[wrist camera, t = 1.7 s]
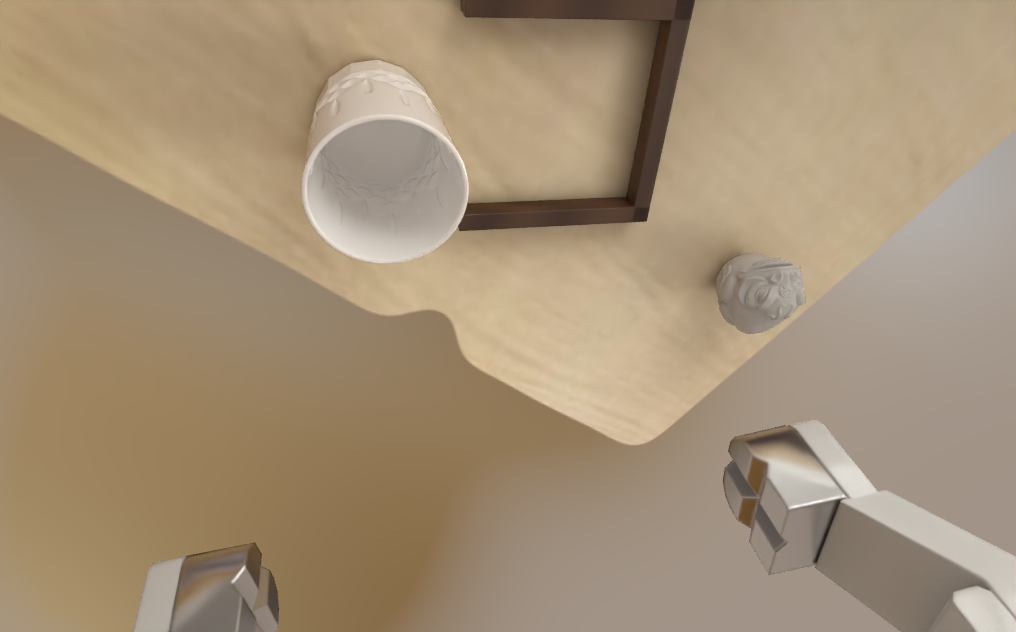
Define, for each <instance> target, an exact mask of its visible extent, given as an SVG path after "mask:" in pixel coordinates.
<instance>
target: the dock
mask: <svg viewBox="0 0 1016 632" xmlns="http://www.w3.org/2000/svg"><path fill="white" fill-rule="evenodd" d="M694 3H695V0H461V11H462V13H463V14H464V16H465V17H491V18H551V19H611V20H661V23H660V28H659V33H658V38H657V43H656V48H655V54H654V59H653V64H652V69H651V74H650V79H649V85H648V90H647V95H646V100H645V105H644V110H643V116H642V121H641V126H640V131H639V136H638V141H637V147H636V152H635V157H634V162H633V167H632V172H631V178H630V183H629V188H628V193H627V197H621V198H597V199H573V200H549V201H526V202H502V203H478V204H467V207H466V210H465V213H464V215H463V218H462V220H461V222H460V223H459V225H458V228H459V231H468V230H488V229H508V228H528V227H547V226H567V225H587V224H607V223H627V222H646V221H647V217H648V213H649V208H650V203H651V198H652V194H653V189H654V185H655V180H656V175H657V171H658V166H659V162H660V157H661V153H662V148H663V143H664V139H665V134H666V130H667V125H668V121H669V116H670V111H671V107H672V102H673V98H674V93H675V89H676V84H677V79H678V75H679V70H680V66H681V61H682V57H683V52H684V47H685V43H686V38H687V34H688V29H689V25H690V20H691V16H692V12H693V7H694Z"/></svg>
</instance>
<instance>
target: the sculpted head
mask: <svg viewBox="0 0 1016 632" xmlns="http://www.w3.org/2000/svg"><path fill="white" fill-rule="evenodd" d="M800 269H801V267H798V266H795V265H793V264H792V263H791V262H787V261H786V260H784V259H781V258H779V259H776V258H768V257H766V256H764V255H761V254H755V253H748V254H742V255H739V256H737V257H734V258H733V259H731V260H730V261H728V262H727V263H726V264H725V265H724V266H723V268H722V269H721V271H720V272H719V275H718V277H717V282H716V291H717V295H718V302H719V306H720V307H719V308H720V311H721V314H722V316H723V318H724V319H725V320H726V321H727V322H728V323H730V324H731V325H735V326H736V328H737V329H738V330H740V331H741V332H744V333H747V334H751V333H753V334H755V333H760V332H764V331H767V330H769V329H771V328H773V327H775V326H777V325H778V324H780V323H781V322H782V321H784V320H785V319H787V318H788V317H790V316H791V315H792V313H793V312H794V311H795V310H796V308H797V307H798V306H799V305H802V304H803V303H805V302H806V294H805V291H804V290H803V274H802V273H801V270H800Z"/></svg>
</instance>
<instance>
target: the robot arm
mask: <svg viewBox="0 0 1016 632" xmlns="http://www.w3.org/2000/svg"><path fill="white" fill-rule="evenodd" d="M728 452H729V454H730V455H731V457H732V458H733V460H732V461H731V462H730V463H729V464H728V465H727V467H725V470H724V477H723V484H724V490H725V496H726V499H727V501H728V504H729V506H730V508H731V510H732V512H733V514H734V516H735V518H736V519H737V520H738V521H739V522H741V523H743V524H744V525H746V526H748V527H749V528H751V534H750V541H749V542H750V544H751V546H752V547H753V549H754V551H755V552H756V554H757V556H758V558H759V559H760V560H761V563H762V564H763V566H764V568H765V569H766V571H767V573H768V574H769V575H771V574H776V573H781V572H785V571H790V570H795V569H799V568H804V567H809V566H813V565H816V566H815V568H816V569H817V570H819V571H820V572H821V573H823V574H824V575H826V576H827V577H828V578H829V579H831V580H832V581H834V582H835V583H836V584H838V585H839V586H840V587H842V588H843V589H844V590H846V591H847V592H848V593H850V594H851V595H852V596H854V597H855V598H856V599H858V600H859V601H861V602H862V603H863V604H865V605H866V606H867V607H869V608H870V609H871V610H873V611H874V612H875V613H877V614H878V615H880V616H881V617H882V618H883V619H885V620H886V621H887V622H889V623H890V624H892V625H893V626H894V627H896V628H897V629H898V630H900V631H901V632H1016V557H1015V556H1013V555H1011V554H1009V553H1007V552H1006V551H1004V550H1002V549H1000V548H998V547H996V546H994V545H992V544H990V543H988V542H986V541H984V540H982V539H980V538H978V537H976V536H974V535H973V534H971V533H969V532H967V531H965V530H963V529H961V528H959V527H957V526H955V525H953V524H951V523H949V522H947V521H945V520H943V519H941V518H940V517H938V516H936V515H933V514H932V513H930V512H928V511H926V510H924V509H922V508H920V507H918V506H916V505H914V504H912V503H910V502H909V501H907V500H905V499H903V498H901V497H899V496H897V495H895V494H893V493H891V492H889V491H887V490H882V491H877V490H876V489H875V487H874V486H873V485H872V484H871V482H870V481H869V480H868V479H867V478H866V476H865V475H864V474H863V473H862V472H861V470H860V469H859V468H858V467H857V465H856V464H855V463H854V462H853V460H852V459H851V458H850V457H849V456H848V454H847V453H846V452H845V451H844V450H843V448H842V447H841V446H840V444H839V443H838V442H837V441H836V439H835V438H834V437H833V436H832V435H831V433H830V432H829V431H828V430H827V428H826V427H825V426H824V425H823V424H822V423H821V422H819V421H817V420H809V421H805V422H801V423H796V424H792V425H788V426H785V425H784V426H780V427H775V428H771V429H767V430H762V431H758V432H754V433H750V434H745V435H741V436H737V437H734V438H733V439H732V441H731V442H730V446H729V450H728ZM261 556H262V554H261V552H260V550H259V549H258V547H257V545H256V544H255V543H250V544H245V545H240V546H235V547H229V548H224V549H220V550H214V551H210V552H204V553H199V554H194V555H188V556H184V557H179V558H174V559H169V560H164V561H160V562H155V563H153V565H152V566H151V568H150V570H149V571H148V573H147V575H146V579H145V584H144V588H143V592H142V596H141V600H140V604H139V608H138V613H137V617H136V621H135V625H134V629H133V632H275V631H276V630H277V628H278V624H279V603H278V592H277V587H276V584H275V580H274V577H273V575H272V573H271V571H270V570H269V569H267V568H264V567H262V566H261Z"/></svg>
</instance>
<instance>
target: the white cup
mask: <svg viewBox="0 0 1016 632" xmlns="http://www.w3.org/2000/svg"><path fill="white" fill-rule="evenodd" d="M301 195H302V202H303V206H304V210H305V213H306V215H307V217H308V220H309V222H310V223H311V225H312V227H313V228H314V230H315V231H316V232H317V234H318V235H319V236H320V237H321V238H322V239H323V240H324V241H325V242H326V243H327V244H329V245H330V246H331V247H332V248H334V249H335V250H337V251H338V252H340V253H342V254H344V255H346V256H348V257H351V258H353V259H356V260H359V261H363V262H368V263H374V264H396V263H402V262H407V261H411V260H414V259H417V258H420V257H422V256H424V255H426V254H428V253H430V252H432V251H433V250H435V249H436V248H438V247H439V246H440V245H442V244H443V243H444V242H445V241H446V240H447V239H448V238H449V237H450V236H451V235H452V234H453V232H454V231H455V230H456V228H457V227H458V225H459V223H460V222H461V220H462V218H463V215H464V213H465V210H466V207H467V202H468V195H469V183H468V176H467V172H466V168H465V165H464V163H463V161H462V158H461V156H460V154H459V152H458V150H457V148H456V146H455V144H454V142H453V140H452V138H451V136H450V134H449V132H448V130H447V128H446V126H445V124H444V122H443V120H442V118H441V117H440V115H439V113H438V111H437V109H436V108H435V106H434V104H433V103H432V101H431V100H430V99H429V97H428V96H427V94H426V91H425V89H424V87H423V86H422V85H421V84H420V83H419V82H418V81H417V80H416V79H415V78H414V77H413V76H412V75H410V74H409V73H408V72H407V71H406V70H405V69H404V68H402V67H399V66H396V65H393V64H390V63H387V62H384V61H381V60H370V61H362V62H355V63H350V64H349V65H347V66H346V67H344V68H343V69H341V70H340V71H338V72H337V73H335V74H334V75H333V76H331V77H330V78H329V79H328V81H327V82H326V84H325V86H324V88H323V90H322V92H321V94H320V96H319V98H318V100H317V103H316V110H315V113H314V116H313V119H312V123H311V129H310V133H309V138H308V143H307V150H306V157H305V164H304V170H303V176H302V184H301Z"/></svg>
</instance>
